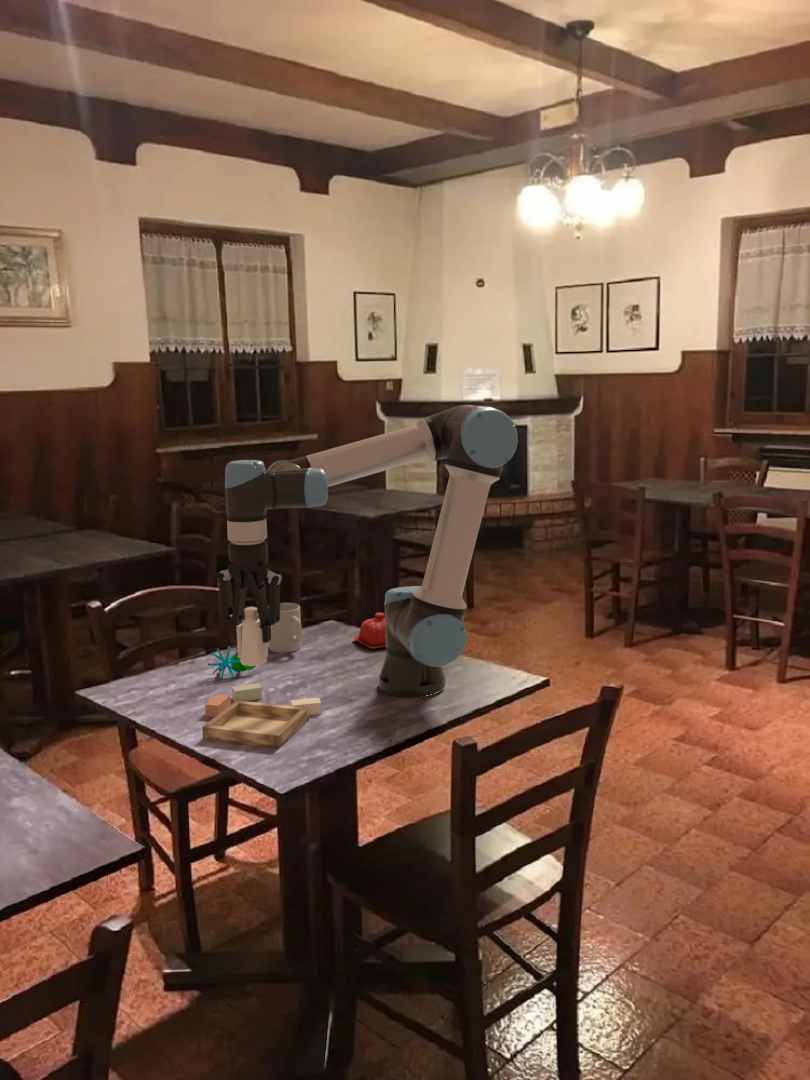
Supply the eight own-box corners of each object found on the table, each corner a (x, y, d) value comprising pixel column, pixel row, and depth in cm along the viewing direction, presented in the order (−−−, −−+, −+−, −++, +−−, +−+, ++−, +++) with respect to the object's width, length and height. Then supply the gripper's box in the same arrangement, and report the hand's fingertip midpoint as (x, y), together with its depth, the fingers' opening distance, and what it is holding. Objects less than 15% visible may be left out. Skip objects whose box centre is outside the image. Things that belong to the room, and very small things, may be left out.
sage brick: (259, 695, 202) (258, 682, 201) (262, 700, 199) (261, 687, 198) (232, 699, 199) (231, 687, 199) (235, 704, 197) (234, 691, 196)
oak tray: (309, 721, 186) (308, 708, 186) (279, 750, 173) (278, 735, 172) (237, 713, 191) (236, 700, 190) (203, 741, 177) (202, 726, 177)
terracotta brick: (218, 707, 195) (217, 694, 195) (231, 708, 195) (230, 695, 194) (205, 718, 190) (204, 704, 189) (219, 719, 189) (218, 705, 188)
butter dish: (389, 634, 245) (388, 604, 243) (410, 646, 235) (409, 614, 233) (350, 641, 239) (350, 610, 238) (370, 653, 230) (370, 621, 228)
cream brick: (319, 710, 192) (319, 697, 192) (321, 716, 190) (321, 702, 189) (291, 713, 191) (290, 700, 191) (293, 719, 188) (292, 705, 188)
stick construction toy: (211, 678, 208) (207, 646, 211) (205, 687, 213) (201, 656, 216) (262, 674, 213) (257, 643, 216) (254, 683, 219) (249, 652, 222)
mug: (262, 647, 235) (260, 606, 233) (290, 640, 240) (289, 600, 238) (286, 658, 226) (284, 616, 224) (315, 651, 231) (313, 610, 229)
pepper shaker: (243, 657, 182) (240, 604, 180) (269, 657, 182) (267, 604, 180) (237, 666, 177) (234, 612, 175) (264, 666, 176) (262, 612, 174)
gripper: (295, 539, 175) (299, 654, 180) (218, 535, 180) (224, 647, 185) (279, 546, 168) (283, 666, 173) (199, 542, 173) (205, 658, 178)
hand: (253, 656), depth 179 cm, fingers closed on pepper shaker, 4 cm apart
